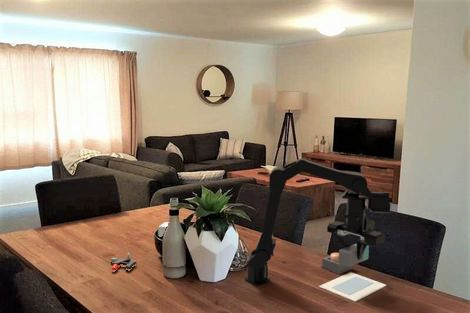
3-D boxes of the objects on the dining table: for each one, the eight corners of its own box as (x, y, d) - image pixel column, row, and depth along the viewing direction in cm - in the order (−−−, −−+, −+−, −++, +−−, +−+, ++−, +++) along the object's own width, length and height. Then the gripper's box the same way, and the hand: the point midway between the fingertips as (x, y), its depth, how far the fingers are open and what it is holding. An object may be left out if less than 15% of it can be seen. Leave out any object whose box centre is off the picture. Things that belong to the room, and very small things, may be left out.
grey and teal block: (348, 266, 138) (349, 253, 137) (338, 263, 141) (339, 250, 140) (368, 258, 145) (368, 245, 145) (358, 255, 148) (358, 242, 148)
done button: (338, 266, 156) (338, 258, 156) (327, 262, 160) (328, 254, 159) (346, 263, 159) (346, 255, 159) (335, 259, 163) (336, 251, 163)
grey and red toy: (112, 262, 166) (112, 249, 166) (140, 266, 162) (139, 253, 162) (97, 271, 157) (96, 258, 157) (125, 275, 153) (124, 262, 153)
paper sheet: (355, 301, 133) (355, 300, 133) (318, 286, 144) (318, 285, 144) (386, 285, 145) (386, 284, 145) (350, 273, 155) (350, 271, 155)
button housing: (339, 274, 154) (339, 264, 154) (321, 267, 160) (321, 258, 160) (352, 268, 159) (352, 259, 159) (334, 262, 165) (334, 253, 165)
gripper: (395, 213, 139) (392, 259, 141) (346, 202, 153) (344, 245, 155) (376, 219, 132) (373, 268, 134) (326, 207, 146) (325, 252, 148)
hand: (353, 257), depth 143 cm, fingers closed on grey and teal block, 4 cm apart
